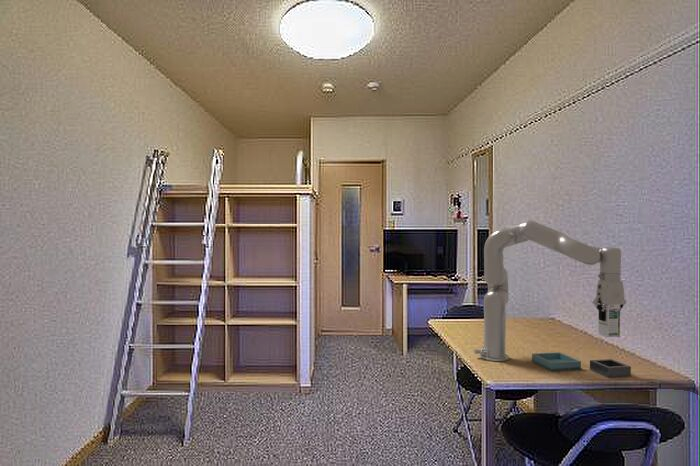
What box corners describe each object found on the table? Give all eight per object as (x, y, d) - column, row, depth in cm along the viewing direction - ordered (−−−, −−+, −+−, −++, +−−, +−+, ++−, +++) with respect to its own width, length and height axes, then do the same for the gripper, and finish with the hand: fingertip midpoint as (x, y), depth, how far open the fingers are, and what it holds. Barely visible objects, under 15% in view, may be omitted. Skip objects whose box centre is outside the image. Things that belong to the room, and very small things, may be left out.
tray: (551, 371, 190) (551, 363, 190) (531, 361, 204) (532, 353, 204) (580, 369, 193) (580, 361, 193) (559, 359, 207) (559, 352, 206)
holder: (608, 377, 182) (608, 367, 182) (589, 369, 193) (589, 360, 193) (630, 376, 184) (630, 366, 184) (611, 368, 195) (611, 359, 195)
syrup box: (608, 337, 185) (608, 302, 185) (597, 334, 191) (598, 299, 191) (620, 337, 186) (620, 301, 186) (609, 333, 192) (609, 299, 192)
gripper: (598, 278, 183) (597, 322, 183) (635, 277, 186) (634, 321, 186) (585, 276, 190) (584, 318, 191) (621, 275, 193) (619, 317, 194)
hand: (608, 319), depth 188 cm, fingers closed on syrup box, 5 cm apart
